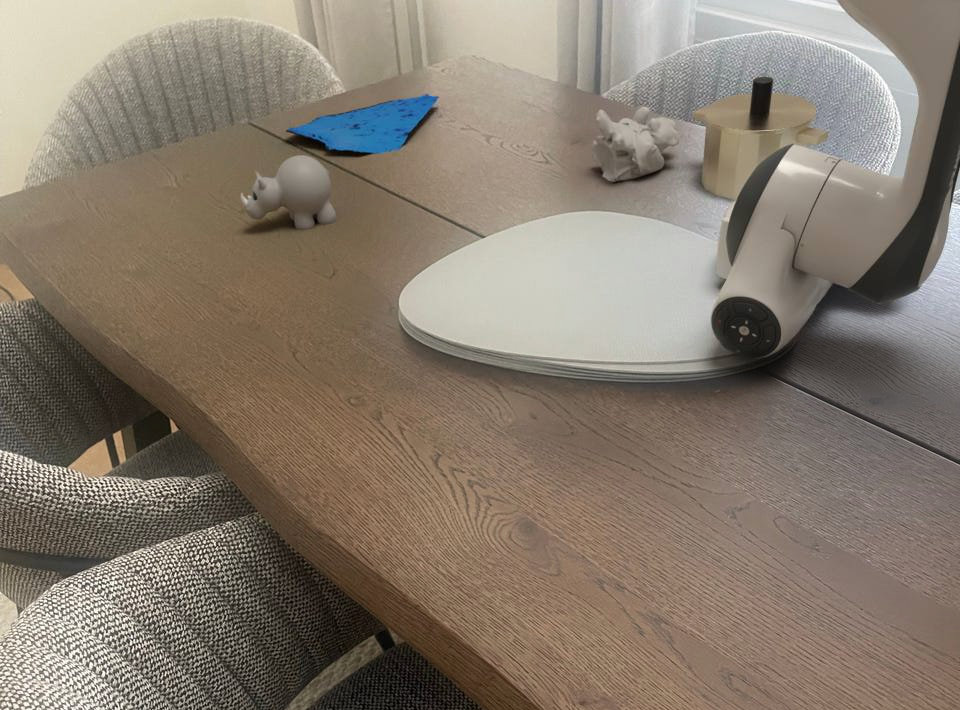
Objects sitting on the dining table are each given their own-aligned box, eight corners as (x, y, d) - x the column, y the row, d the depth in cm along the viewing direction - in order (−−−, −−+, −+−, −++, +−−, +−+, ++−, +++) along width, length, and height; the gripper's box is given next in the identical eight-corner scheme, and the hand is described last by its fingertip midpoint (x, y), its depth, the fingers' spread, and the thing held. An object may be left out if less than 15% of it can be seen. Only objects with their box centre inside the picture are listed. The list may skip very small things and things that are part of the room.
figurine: (589, 107, 124) (676, 72, 124) (584, 150, 134) (664, 117, 134) (614, 165, 124) (701, 130, 124) (606, 205, 134) (687, 172, 134)
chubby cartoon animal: (246, 226, 131) (229, 160, 125) (331, 208, 133) (319, 142, 127) (254, 247, 126) (236, 179, 120) (343, 227, 128) (330, 160, 122)
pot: (720, 156, 135) (726, 89, 128) (838, 183, 125) (851, 111, 119) (666, 187, 129) (669, 118, 123) (785, 218, 119) (796, 145, 113)
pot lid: (742, 95, 128) (746, 56, 125) (836, 112, 121) (843, 72, 118) (681, 127, 122) (684, 87, 118) (776, 148, 115) (782, 106, 111)
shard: (302, 110, 163) (299, 98, 161) (442, 100, 161) (440, 87, 159) (275, 167, 146) (272, 153, 144) (431, 155, 144) (429, 141, 142)
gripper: (907, 245, 94) (941, 191, 102) (708, 216, 103) (753, 167, 110) (893, 306, 99) (926, 249, 107) (703, 273, 107) (746, 223, 115)
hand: (836, 208), depth 109 cm, fingers closed on lemon, 5 cm apart
